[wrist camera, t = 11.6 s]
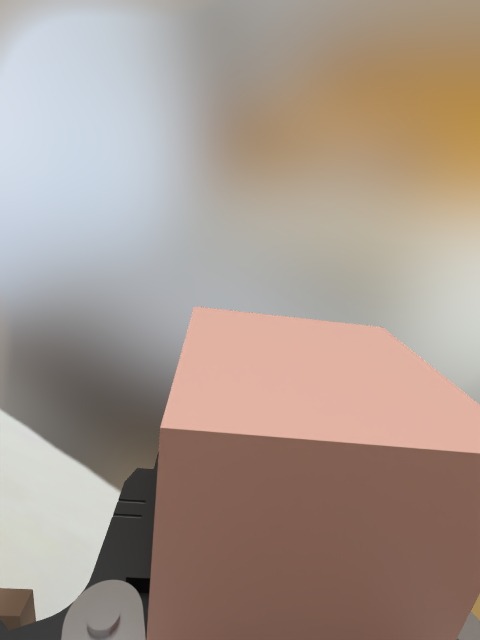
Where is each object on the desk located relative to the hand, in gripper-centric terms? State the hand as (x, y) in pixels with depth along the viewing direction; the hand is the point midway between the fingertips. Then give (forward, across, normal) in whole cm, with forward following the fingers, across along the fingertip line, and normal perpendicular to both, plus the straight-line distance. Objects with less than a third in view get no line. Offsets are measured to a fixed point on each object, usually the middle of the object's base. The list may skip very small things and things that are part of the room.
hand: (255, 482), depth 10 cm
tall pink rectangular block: (-3, 0, +7) cm, 7 cm away
